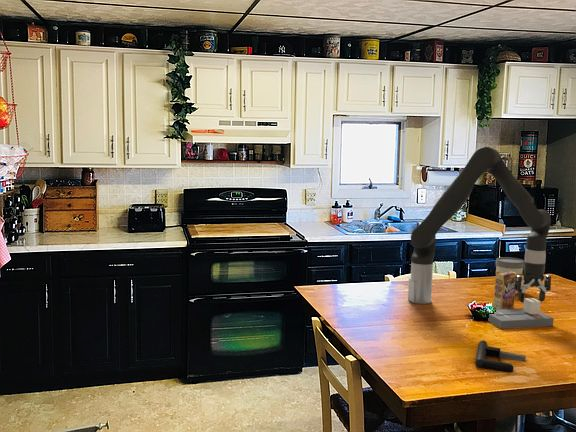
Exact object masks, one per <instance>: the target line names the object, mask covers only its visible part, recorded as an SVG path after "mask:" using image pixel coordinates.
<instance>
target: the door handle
mask: <svg viewBox="0 0 576 432" xmlns="http://www.w3.org/2000/svg"><path fill="white" fill-rule="evenodd" d="M476 345H477V350H476V356H475V358H474V360H475V361H474V364H475V366H476V368H478V369H481V368H485V369H490V370H496V371H500V372H505V373H512V372H514V369H515V368H514V365H513V364H511V363H507V362H502V361H501V359H507V360H515V361H520V362H521V361H522V362H526V358H527V356H526V355H524V354H519V353H512V352H508V351H504V350H503V351H502V349H501V348H499V347H495V346H489V345H488V342H487V341H486V340H483V339H482V340H480V341H479V342H478V344H477V343H476ZM487 357H488V358H493V359H494V358H495V359H498V361H497V360H491V359H487Z"/></svg>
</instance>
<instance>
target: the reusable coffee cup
mask: <svg viewBox="0 0 576 432" xmlns="http://www.w3.org/2000/svg"><path fill="white" fill-rule="evenodd" d="M494 265H495V268H496V270H495V274H496V273H502V272H508V271H511V272H515V273H517V275H518V276H523V275H524V259H521V258H517V257H509V256H507V257H505V256H504V257H503V256H502V257H497V258H496V259H495V263H494ZM516 294H519V292H518V291H516V290H515V295H516Z"/></svg>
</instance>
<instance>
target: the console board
mask: <svg viewBox="0 0 576 432" xmlns="http://www.w3.org/2000/svg"><path fill="white" fill-rule="evenodd" d="M495 310H496V313H494V314H489V318H488V321H487V322H489V323H490V324H492V325H494V326H495V327H497V328H499V329H501V330H502V329H517V328H520V329H521V328H522V329H523V328H536V327H537V328H538V327H541V328H542V327H553V326H554V320H555V319H554V317H551V316H550V315H548V314H546V313H544V312H542V311H540V314H529V313H527V312H525V311H523V307H522V308H520V307H519V308H508V309H499V310H498V309H495Z"/></svg>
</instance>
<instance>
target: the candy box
mask: <svg viewBox="0 0 576 432" xmlns="http://www.w3.org/2000/svg"><path fill="white" fill-rule="evenodd" d="M516 275H517V273H515V272H511V271H508V272H502V273H496V272H495V280H494V293H493V294H494V295H493V305H492V307H493V306H495V307H496V308H497V309H496V310H499V309H514V307H515V297H516V296H515V295H516V294H515V290H514V286H515V279H516Z"/></svg>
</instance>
